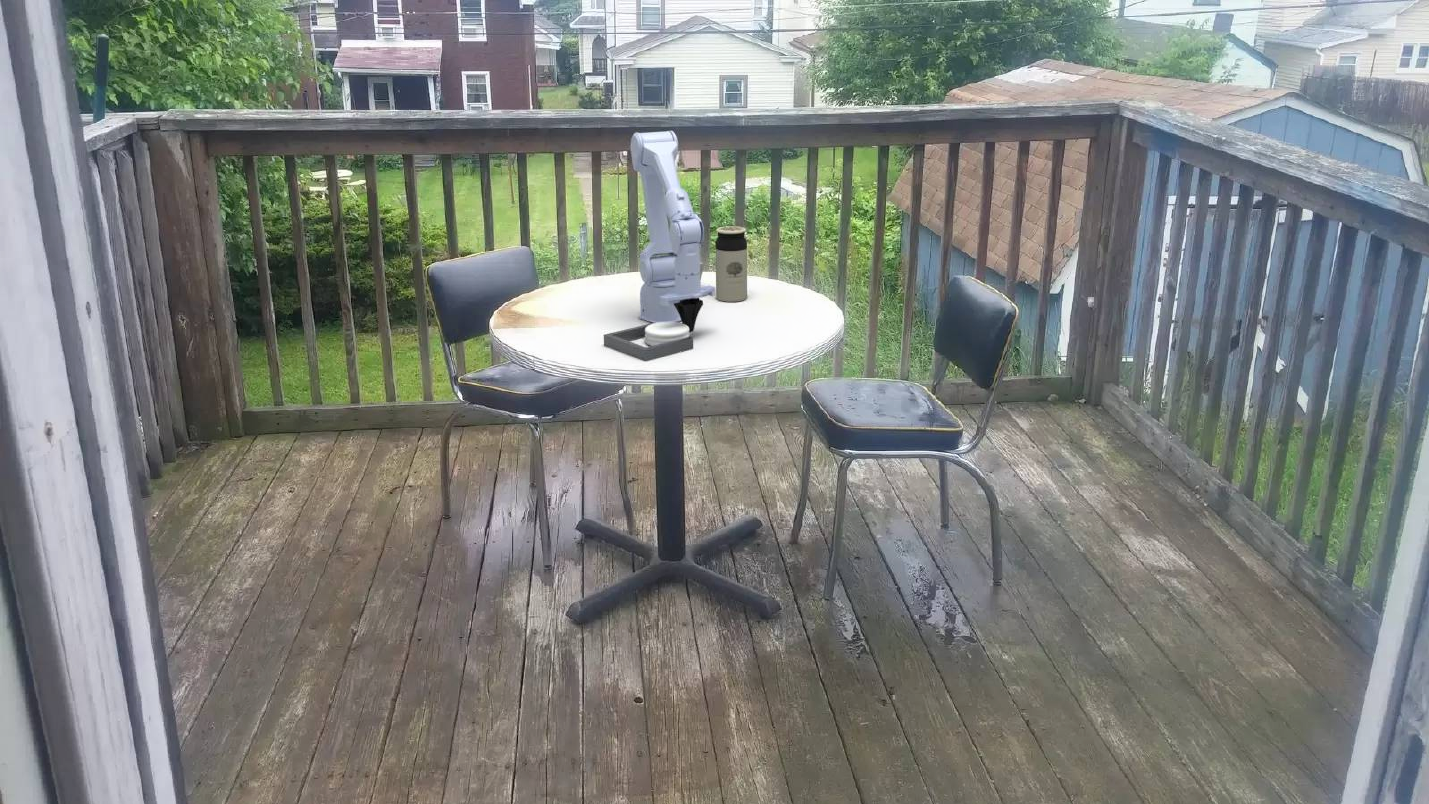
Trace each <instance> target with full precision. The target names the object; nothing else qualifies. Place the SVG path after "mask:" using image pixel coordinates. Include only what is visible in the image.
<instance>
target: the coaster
mask: <svg viewBox="0 0 1429 804" xmlns="http://www.w3.org/2000/svg"><path fill="white" fill-rule="evenodd" d="M650 324H651V325H648V326H647V327H646V328H645V337H644V338H645V340H644V342H645V343H646V344H647V345H649V347H651V346H655V345H659V344H662V343H666V342H670V341H674V340H678V339H682V338H686V337H690V336H691V335H690V332H689V327H688V326H687V325H686V324H683V323H682V322H680V321H678V322H659V323H650Z"/></svg>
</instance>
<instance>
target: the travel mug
mask: <svg viewBox="0 0 1429 804" xmlns="http://www.w3.org/2000/svg"><path fill="white" fill-rule="evenodd" d="M715 231H716V232H717V239H716V240H715V298H716V300H718V301H721V302H724V301H727V302H726V303H738V301H739V302H742V301H745V300H746V299H747V298H748V241H747V239H746V237H745V233H746V231H747V228H746V227H742V226H738V225H737V226H736V225H735V226H734V225H733V226H732V225H730V226H722V227H721V226H720V227H718V228H716V230H715Z"/></svg>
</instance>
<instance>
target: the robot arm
mask: <svg viewBox="0 0 1429 804" xmlns="http://www.w3.org/2000/svg"><path fill="white" fill-rule="evenodd" d="M629 145H630V156H631V161H632V166H633V170H634V171H636V172H638V173H639V175H640V179H641V185H642V194H643V199H644V200H643V201H644V202H643V203H644V208H645V209H644V210H645V215H646V216H645V217H646V225H647V231H648V238H649V243H648V244H647V245H646V247H644V248H643V249H642V250H641V252H640V254H639V261H640V263H639V273H640V274H639V275H640V277H641V280H642V281H643V282H644V283H643V284H642V285H641V287H640V292H639V298H640V300H639V302H640V303H639V304H640V315H637V318H638V319H640V320H643V321H647V322H650V323H651V324H654V323H659V322H681V323H683V324H686V325H687V326H688V327H689V333H693V332H694V330H695V326H696V321H697V320H698V319H697V318H698V315H699V312H700V311H701V309H702V307H703V306H704V300H702V299H700V298H703V297H709V296H711V297H712V296H716V286H712V285H706V286H701V281H700V262H701V249H700V248H701V247H700V246H701V245H700V244H702V243H703V242H704V239H705V227H704V224H703V220H702V219H701V217H699V216H698V214H697V213H694V210H693V209H694V208H693V206H692V203H691V200H690V198H689V194H688V192H687V190H685V189H682V187H681V182H680V179H679V173H678V171H677V170H678V169H677V166H676V160H677V156H678V152H679V141H678V137H677V135H676V134H675V132H674V131H673V130H667V131H654V132H653V131H651V132H634V134H633V135H632V137H631V139H630V144H629ZM668 221H669V222H668ZM669 223H670V224H669ZM669 225H670V226H669Z"/></svg>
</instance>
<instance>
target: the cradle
mask: <svg viewBox="0 0 1429 804" xmlns="http://www.w3.org/2000/svg"><path fill="white" fill-rule="evenodd" d="M651 324H652V323H648V324H642V325H639V326H634V327H631V328H626V329H622V330H618V331H613V332H610V333H605V334H603V345H604V346H605V347H608V348H610V349H612V350H615V351H617V352H620V353H623V354H626V355H629V356H631V357H633V358H636V359H639V360H642V361H644V362H647V361H652V360H654V359H659V358H662V357H667V356H671V355H675V354H678V352H679V353H681V352H680V351H682V352H685V351H689V349H690V350H693V349H694V337H693V336H689V337H686V338H682V339H678V340H674V341H670V342H666V343H662V344H659V345H655V346H643V345H640V344H638V343H635V342H632V341H635V340H640V339H644V338H646V337H645V328H646V327H647V326H648V325H651Z"/></svg>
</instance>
